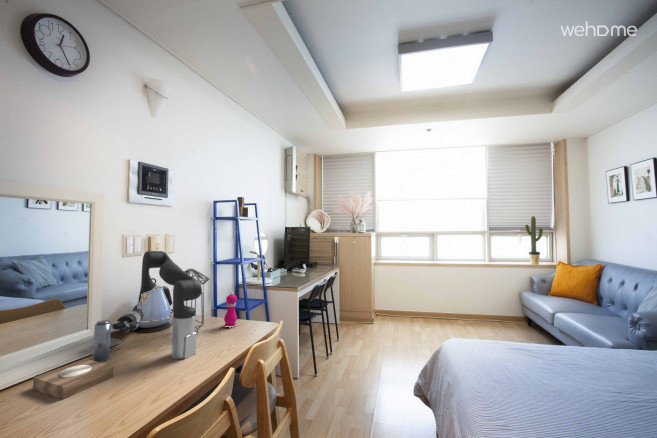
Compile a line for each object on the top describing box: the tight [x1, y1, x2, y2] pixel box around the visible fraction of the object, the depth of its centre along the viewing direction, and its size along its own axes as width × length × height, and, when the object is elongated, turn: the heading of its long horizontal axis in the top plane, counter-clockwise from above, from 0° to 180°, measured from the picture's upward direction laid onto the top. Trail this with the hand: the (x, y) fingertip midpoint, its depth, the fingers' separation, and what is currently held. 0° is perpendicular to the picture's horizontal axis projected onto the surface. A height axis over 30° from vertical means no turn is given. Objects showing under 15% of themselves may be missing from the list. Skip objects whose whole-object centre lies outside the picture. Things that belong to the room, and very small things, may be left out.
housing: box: [92, 319, 112, 363], centre depth 124 cm, size 6×6×16 cm
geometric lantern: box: [171, 268, 211, 334], centre depth 157 cm, size 16×16×35 cm
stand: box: [32, 358, 115, 400], centre depth 105 cm, size 16×16×4 cm
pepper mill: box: [223, 291, 238, 327], centre depth 171 cm, size 7×7×20 cm
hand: (111, 331), depth 131 cm, fingers open, 8 cm apart
